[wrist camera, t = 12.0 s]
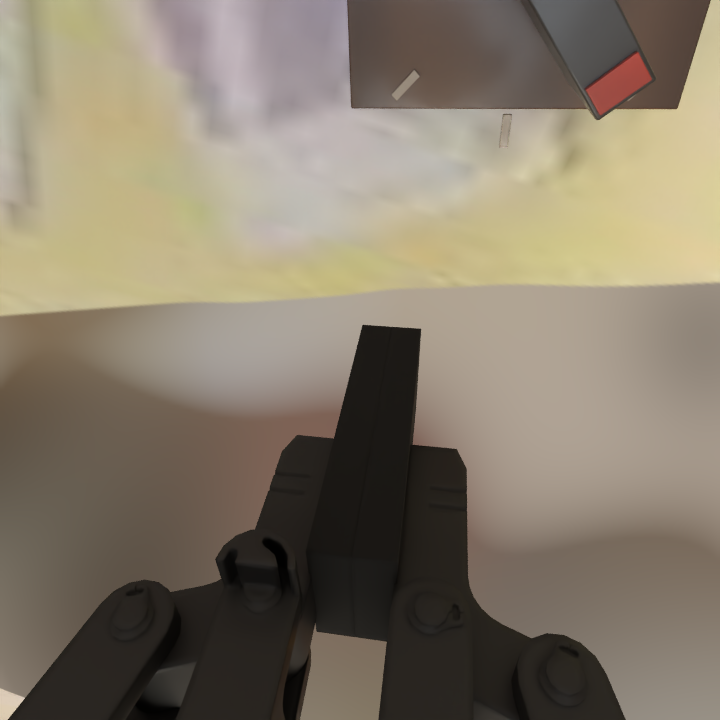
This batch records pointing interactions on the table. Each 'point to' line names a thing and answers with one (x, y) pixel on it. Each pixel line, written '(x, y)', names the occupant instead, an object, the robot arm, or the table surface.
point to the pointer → (593, 50)
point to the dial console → (498, 55)
